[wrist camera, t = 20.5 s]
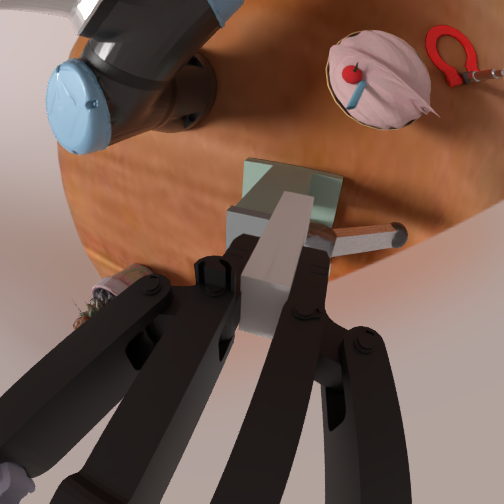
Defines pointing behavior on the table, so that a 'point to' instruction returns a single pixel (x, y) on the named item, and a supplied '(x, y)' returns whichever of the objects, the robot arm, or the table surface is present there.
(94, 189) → the table surface
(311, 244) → the lever
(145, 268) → the potted plant
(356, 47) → the ice cream cone
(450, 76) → the tow hook
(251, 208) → the press
